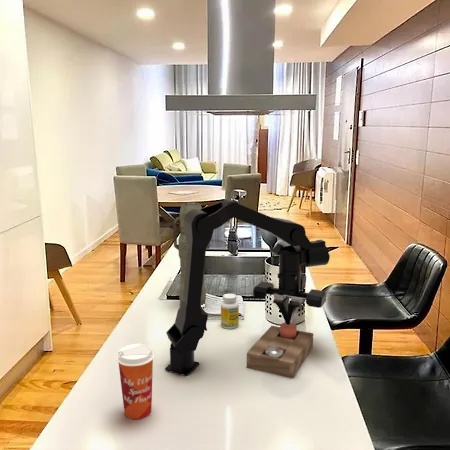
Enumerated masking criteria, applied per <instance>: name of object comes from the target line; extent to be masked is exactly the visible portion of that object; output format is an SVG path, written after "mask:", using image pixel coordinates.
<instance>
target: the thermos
mask: <svg viewBox="0 0 450 450" xmlns="http://www.w3.org/2000/svg"><path fill="white" fill-rule="evenodd" d="M202 208H203V207H202V205H201V203H199V202H197V201H186V202H183V203H181V206H180V208H179V209H180V210H179V216H178V217H176V218H175V219H174V220H173V221H172V231H173V247H174V248H175V249H176V250H177V251H178V257H179V261H180V265H179V266H180V286H179V289H178V291H179V293H178V295H179V307H180V306H181V304H182V302H183V294H184V283H185V272H186V260H187V249H188V246H187V241H186V236H185V229H184V217H185V215H186V214H187V213H188V212H189V211H190V210H193V209H202ZM177 222H179V228H180V230H179V236H178V232H177V231H178V230H177V227H178V226H177ZM210 243H211V242H210ZM210 243H209V245H208V247H207V249H206V250H209V249H210V245H211V244H210ZM206 301H207V288H206V286H205V274H204V275H203V285H202V296H201V305H203V304H205V303H206Z"/></svg>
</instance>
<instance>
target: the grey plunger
mask: <svg viewBox="0 0 450 450" xmlns="http://www.w3.org/2000/svg"><path fill="white" fill-rule="evenodd" d="M283 354H284V352H283V349H282V348H281V347H278V346H269V347H267V348H266V351H265V353H264V355H268V356H273V357H278V358H281V357H282V356H283Z"/></svg>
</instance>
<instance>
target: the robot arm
mask: <svg viewBox="0 0 450 450" xmlns="http://www.w3.org/2000/svg"><path fill="white" fill-rule="evenodd" d="M232 219H237V220H239V221H242V222H244V223H247V224H250V225H251V226H254V227H256V228H259V229H261V230H264V231H266V232H267V233H269V234H270V235H272V236H274V237H275V238H277V239H279V240H280V241H282V242H283V243H287V244H288V245H283V244H281V243H279V242H278V243H277V244H276V245H275V246H274V247H273V248H272V249H271V253H272V252H273V253H274V254H276V255H277V256H279V257H278V259H279V260H278V261H279V262H278V273H277V279H278V287H275V286H274V283H273V282H268V281H267V282H265V281H260V282H259V283H258V284H257V285H255V286H254V287H253V288H252V289H253V290H252V297H254V298H258V299H264V298H265V297H266V296H267V295H272V296H273V300H272V303H273V304H276V306H277V308H278V309H279V311H280V313H281V316H282V318H283V320H284V323H286V324H287V325H290V323H292V320H293V317H294V315H295V312H296V310H297V308H300V307H301V306H302V304H303V303H304V302H305V304H306V305H307V306H308V307H312V308H318V309H319V308H322V307H323V306H324V305H325V303H326V301H327V292H325V290H322V289H321V290H319V289H313V288H311V289H310V290H309V292H304V291H303V290H304V289H305V288H306V283H307V276H306V275H303V270H302V265H303V266H304V267H305V268H310V267H318V266H319V267H320V266H326V265H328V264H329V262H330V259H331V255H330V252H329V249H328V247H327V245H326V240H323V239H317V240H311V241H310V239H309V238H308V237H307V235H306V234H307V233H306V232H307V231H306V228H305V227H304V225H302V224H301V223H297V222H294V221H292V220H289V219H285V218H279V217H273V216H269V215H267V214H264V213H261V212H259V211H257V210H254V209H251V208H249V207H247V206H244V205H242V204H240V203H239V202H237V201H235V200H232V199H230V198H225V199H224V200H221V201H220V202H216V203H213V204H210V205H207V206H204V207H202V209H193V210H190V211H189V212H188V213H187V214H186V215H185V217H184V229H185V236H186V241H187V246H188V249H187V260H186V272H185V283H184V294H183V302H182V304H181V306H180V305H179V308H178V310H177V313H176V317H175V321H174V323H173V324H172V326H170V328H169V329H168V330H166V336H167V337H168V340H169V341H170V347H169V354H170V355H169V364H168V365H167V366H166V367H164V370H165V371H167V372H171V373H174V374H178V375H183V376H187V377H188V376H189V375H190V374H191V373H192V372H193V371H195V369H197V367H199V365H200V361H196V360H195V351H197V348H198V344H199V341H200V340H201V339H203V337H204V335H205V332H207V331H208V328H207V322H208V318H209V314H208V313H207V312H206V311H205V309H204V308H203V309H202V307H201V296H202V285H203V275H204V276H205V263H206V262H205V261H206V253H207V250H208V249H207V247H208V245H209V243H211V242H212V238H213V235H214V231H215V230H216V229H218V228H220V227H222V226H223V225H225V224H227V222H228V221H230V220H232Z"/></svg>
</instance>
